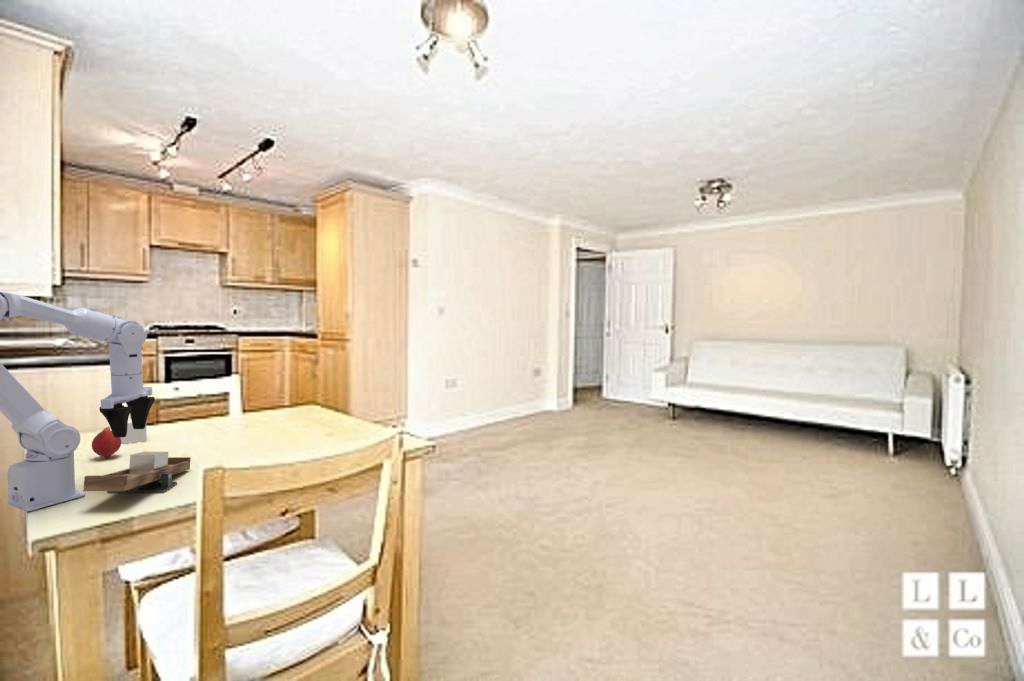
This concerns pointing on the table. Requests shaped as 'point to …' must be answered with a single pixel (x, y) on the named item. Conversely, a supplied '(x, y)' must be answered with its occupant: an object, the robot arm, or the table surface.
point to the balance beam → (133, 477)
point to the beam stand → (152, 486)
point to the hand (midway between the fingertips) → (129, 432)
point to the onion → (106, 443)
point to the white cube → (134, 434)
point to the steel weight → (147, 462)
